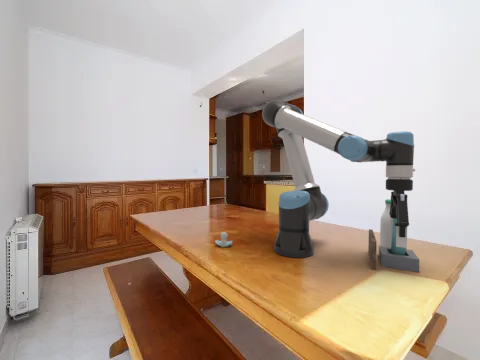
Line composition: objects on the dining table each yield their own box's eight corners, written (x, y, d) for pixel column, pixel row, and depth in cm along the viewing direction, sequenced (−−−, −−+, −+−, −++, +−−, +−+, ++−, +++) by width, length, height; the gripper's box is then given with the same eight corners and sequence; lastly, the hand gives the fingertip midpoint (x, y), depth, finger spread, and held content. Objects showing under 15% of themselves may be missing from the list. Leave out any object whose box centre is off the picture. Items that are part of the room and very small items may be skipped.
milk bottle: (406, 251, 91) (407, 201, 90) (384, 250, 92) (385, 200, 92) (396, 245, 98) (397, 199, 98) (377, 244, 100) (377, 198, 99)
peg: (391, 261, 77) (394, 220, 76) (389, 257, 81) (392, 218, 80) (405, 264, 76) (408, 222, 75) (403, 259, 79) (406, 219, 78)
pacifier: (216, 243, 101) (214, 247, 95) (217, 229, 101) (214, 232, 95) (233, 244, 101) (232, 248, 95) (233, 229, 101) (232, 232, 95)
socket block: (381, 266, 76) (381, 254, 76) (378, 256, 85) (378, 246, 85) (419, 272, 72) (419, 259, 72) (411, 261, 81) (412, 250, 81)
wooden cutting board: (371, 269, 74) (372, 241, 74) (368, 252, 90) (368, 229, 90) (375, 269, 73) (376, 241, 73) (371, 252, 90) (372, 229, 89)
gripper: (422, 179, 65) (420, 254, 65) (405, 178, 87) (403, 234, 88) (391, 179, 68) (389, 250, 69) (381, 177, 91) (380, 231, 91)
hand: (397, 241), depth 78 cm, fingers open, 13 cm apart
